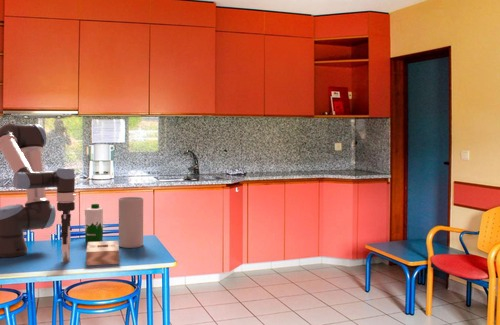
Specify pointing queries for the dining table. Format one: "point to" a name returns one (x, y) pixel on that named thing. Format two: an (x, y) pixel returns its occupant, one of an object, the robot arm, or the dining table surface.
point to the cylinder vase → (130, 222)
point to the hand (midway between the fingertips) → (66, 248)
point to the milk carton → (94, 223)
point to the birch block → (102, 253)
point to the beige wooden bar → (67, 254)
